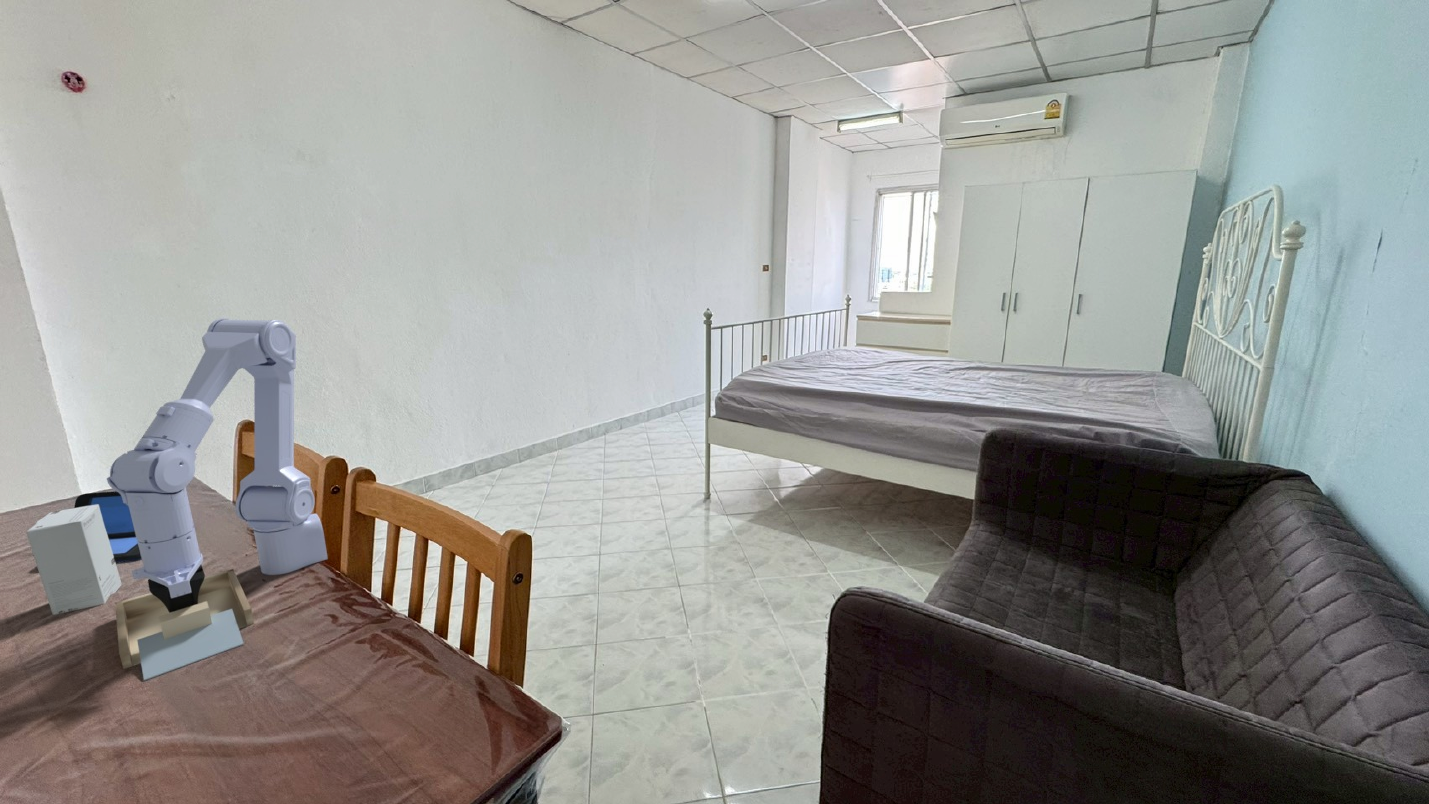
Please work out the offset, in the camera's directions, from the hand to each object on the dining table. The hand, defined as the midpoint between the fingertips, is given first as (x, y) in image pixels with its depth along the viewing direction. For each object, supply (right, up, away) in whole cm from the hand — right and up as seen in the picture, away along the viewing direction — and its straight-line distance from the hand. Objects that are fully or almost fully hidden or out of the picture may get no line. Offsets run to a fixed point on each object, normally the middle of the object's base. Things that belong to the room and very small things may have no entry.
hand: (186, 620), depth 81 cm
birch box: (-3, -2, +4) cm, 5 cm away
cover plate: (+3, -3, -2) cm, 5 cm away
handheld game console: (-37, +3, +25) cm, 45 cm away
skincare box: (-24, -1, +9) cm, 26 cm away
